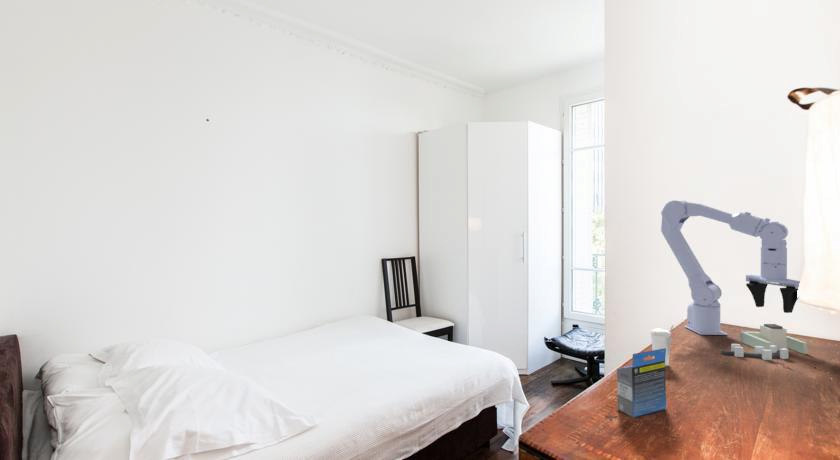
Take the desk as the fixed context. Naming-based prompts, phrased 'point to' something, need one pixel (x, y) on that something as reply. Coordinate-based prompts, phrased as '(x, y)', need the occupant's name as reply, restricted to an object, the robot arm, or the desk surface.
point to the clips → (760, 351)
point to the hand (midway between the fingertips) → (773, 309)
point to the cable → (750, 354)
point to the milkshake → (661, 341)
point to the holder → (755, 340)
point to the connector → (774, 335)
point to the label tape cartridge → (642, 384)
